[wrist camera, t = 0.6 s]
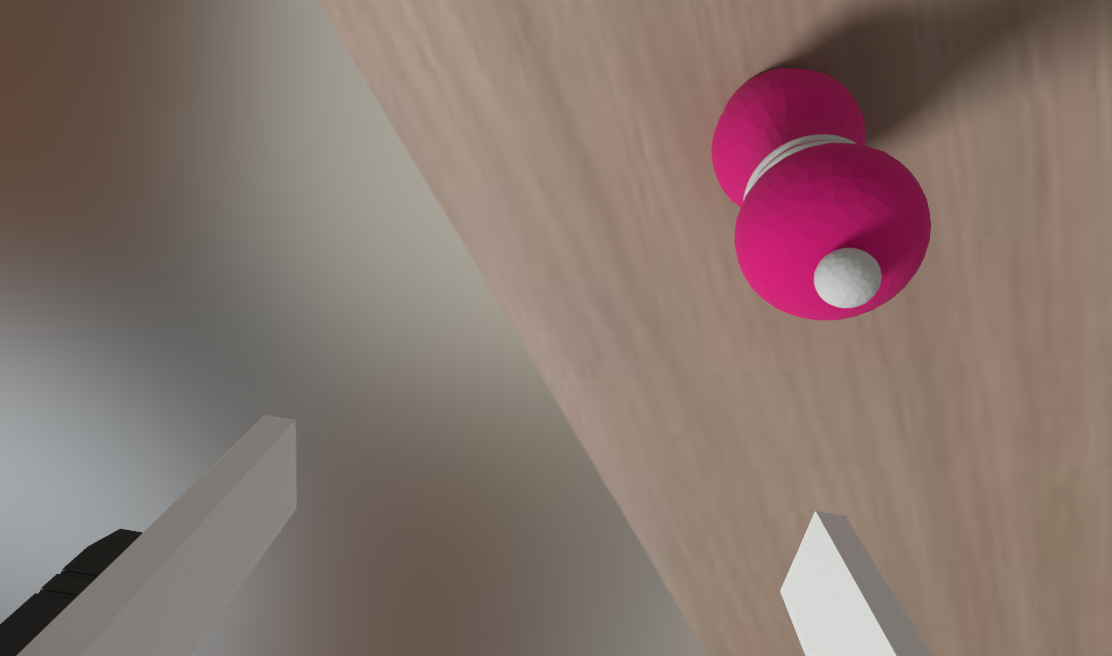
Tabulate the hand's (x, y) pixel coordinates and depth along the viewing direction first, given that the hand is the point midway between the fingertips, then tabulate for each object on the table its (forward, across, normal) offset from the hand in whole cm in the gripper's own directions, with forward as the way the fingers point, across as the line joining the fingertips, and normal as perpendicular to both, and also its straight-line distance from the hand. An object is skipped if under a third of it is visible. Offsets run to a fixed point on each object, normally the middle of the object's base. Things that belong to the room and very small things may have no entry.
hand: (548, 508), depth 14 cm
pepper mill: (+24, +10, +10) cm, 28 cm away
